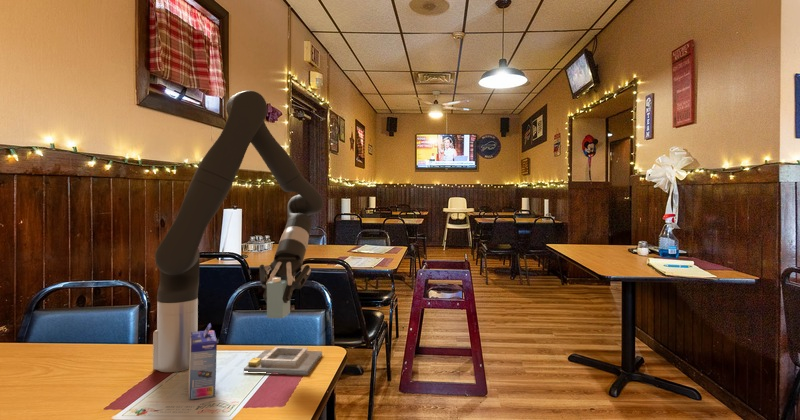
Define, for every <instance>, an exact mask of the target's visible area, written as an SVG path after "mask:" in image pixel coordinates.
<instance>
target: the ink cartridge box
mask: <svg viewBox="0 0 800 420" xmlns="http://www.w3.org/2000/svg"><path fill="white" fill-rule="evenodd" d="M206 326H207V327H206V328H205V330H198V331H197V332H191V334H190V359H189V369H188V384H187V385H188V400H189V401H191V400H198V399H205V398H206V399H207V398H213V397H216V387H217V386H216V383H217V349H218V348H217V347H218V346H217V344H218V339H217V337H216V332H215V330H213V329H212V324H211V322H210V323H208V324H207V325H206Z"/></svg>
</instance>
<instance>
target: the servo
mask: <svg viewBox="0 0 800 420" xmlns="http://www.w3.org/2000/svg"><path fill="white" fill-rule="evenodd" d="M287 285H288V284H287V279H281V278H272V281H270V282H268V283H267V303H266V319H284V318H285V317H287V316H288V315H290V314H291V300H290V301H288V303H284V301H283V299H282V298H283V295H284V292H285V288H286V286H287Z"/></svg>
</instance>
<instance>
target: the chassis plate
mask: <svg viewBox="0 0 800 420" xmlns="http://www.w3.org/2000/svg"><path fill="white" fill-rule="evenodd" d="M322 356H323V350H309V349H308V347H295V346H292V347H291V346H275V347H274V348H273V349H270V348H268V349H267V348H266V349H264V351H262V352H261V353H259V355H258V356H257V357H253V358H252V359H251V360H249V361H248V362H247V363H248V364H247V365H246V366H245V367H243V372H244V371H248V372H266V373H278V374H277V375H279V374H287V376H306V377H307V376H308V375H309V374H310V373H311V371H312V370H313V368H314V367H315V366H316V364H317V363H318V362H319V360H320V358H322Z"/></svg>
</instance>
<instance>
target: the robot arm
mask: <svg viewBox="0 0 800 420" xmlns="http://www.w3.org/2000/svg"><path fill="white" fill-rule="evenodd" d="M225 109H226V114H227V119H226V122H225V124H224V126H223V129H222V131H221V133H220V135H219V136H218V137H217V139H216V140H215V142H214V143H213V144H212V145H211V147H210V148H209V149H208V150H207V153H205V155H204V156H203V158H202V159H201V161H200V162H199V165H198V166H197V168H196V170H195V172H194V174H193V176H192V179H191V181H190V183H189V185H188V188H187V190H186V193H185V196H184V198H183V200H182V203H181V206H180V208H179V211H178V213H177V215H176V217H175V219H174V221H173V223H172V225H171V226H170V228H169V230H168V231H167V233H166V235H165V236H164V237H163V239H162V241H161V242H160V243H159V245H158V246H157V248H156V250H155V255H154V261H155V265H156V267H157V268H158V270H159V271H160V272H159V273H160V275H159V285H158V289H157V292H156V293H157V296H156V299H157V303H156V304H157V305H156V307H157V308H156V310H157V311H156V312H157V317H156V322H157V323H156V330H154V331H153V334H152V339H153V340H152V345H153V346H152V347H153V348H152V369H153V370H157V371H159V372H161V373H175V372H183V371H186V370H189V359H190V334H191V332H197V331H199V330H198V323H199V322H198V321H199V320H198V318H199V315H198V313H199V311H198V310H199V309H198V305H199V299H198V297H199V295H198V294H199V285H200V261H201V260H200V258H201V257H200V255H201V254H200V249H199V247H200V243H201V241H202V239H203V237H204V234H205V231H206V229H207V228H208V226H209V224H210V222H211V221H212V220H213V218H214V217H215V215H216V214H217V212H218V211H219V210H220V207H221V206H222V205H223V203H225V200H226V198H227V196H228V194H229V192H230V191H231V188H232V187H233V184H234V182H235V179H236V177H237V175H238V173H239V170H240V168H241V165H242V163H243V161H244V158H245V155H246V153H247V151H248V148H249V146H250V144H252V146H253V147H254V149H255V150H256V152H257V153H258V154H259V156H260V157H261V159H262V161H263V162H264V163H265V165H266V166H267V168H268V170H269V171H270V173H271V175H272V176H273V178H274V179H275V180H276V182H277V184H278V186H279V187H280V189H281V190H282V191H284V192H285V193H296V195H294V196H292V197H291V198H290V199H289V201H288V202H287V207H286V210H287V221H286V225H285V226H284V230H283V233H282V234H281V237H280V240H279V242H278V245H277V247H276V251H275V254H274V258H273V260H272V262H270V264H269V265H264V264H260V265H259V282H260V285H261V287H262V288H263V289H264V291H263V294H262V298H263V300H264V301H265V304H267V283H268V282H270V281H272V278H281V280H287V284H288V285H287V286H286V288H285V292H284V295H283V298H282V299H283V301H284V303H288V301H290V302H291V299H292V297H293V296H292V295H293V291H294V290H295V289H298V290H301V288H303V286H304V285H305V283H306V282H307V280H308V279H309V278H310V275H311V274H312V270H311V267H310V265H309V264H306V265H304V264H303V263H304V259H305V256H306V252H307V249H308V244H309V238H310V234H311V231H312V226H313V220H312V219H311V217H310V216H311V215H312V216H313V215H314V214H319V212H321V211H322V210H323V209H324V198H323V196H322V194H321V193H320V192H319V191H318V190H317V189H316V188H315V187H314V186H313V185H312V184H311V183H310V182H309V181H308V180H307V178H305V177H304V176H303V174H302V173H301V172H300V170H299V168H298V166H297V165H296V163H295V162H294V160H293V159H292V157H291V156H290V155H289V153H288V152H287V151H286V149H284V148H283V147H282V146H281V144H280V143H279V142H278V141H277V140H276V138H275V137H274V136H273V134H272V133H271V132H270V131H271V130H269V128H268V126H267V125H266V122H265V119H266V117H267V115H268V104H267V101H266V99H265V98H264V96H263V95H262V94H261V93H259V92H258V91H255V90H243V91H239V92H237V93H235V94H233V95H231V96H230V98H229V99H228V100H227V103H226V107H225ZM270 271H271V273H270ZM269 273H270V275H269ZM298 274H299V275H298ZM268 275H269V278H268ZM296 275H298V276H297V277H296ZM295 277H296V278H295Z"/></svg>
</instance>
